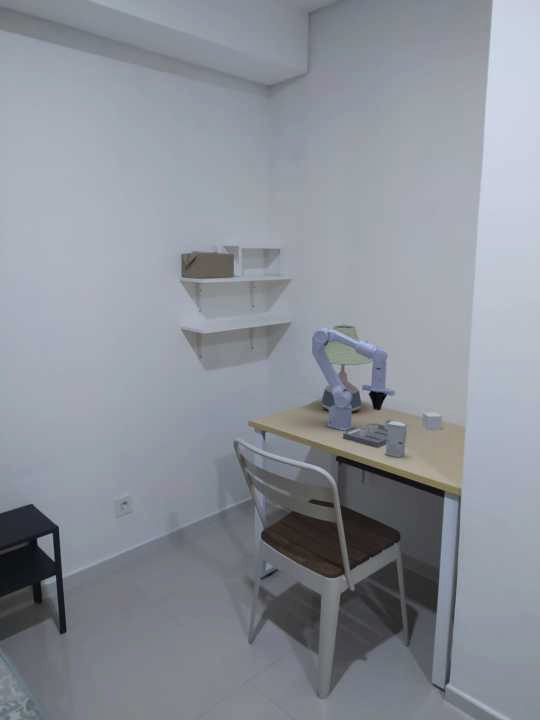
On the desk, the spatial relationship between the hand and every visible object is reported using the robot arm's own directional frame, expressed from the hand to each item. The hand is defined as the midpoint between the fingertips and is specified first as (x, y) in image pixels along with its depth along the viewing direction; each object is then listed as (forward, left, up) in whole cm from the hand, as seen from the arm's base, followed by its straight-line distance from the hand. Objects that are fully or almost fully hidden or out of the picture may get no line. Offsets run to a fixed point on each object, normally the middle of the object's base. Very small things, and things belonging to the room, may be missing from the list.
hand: (377, 409), depth 231 cm
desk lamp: (-31, +18, -10) cm, 37 cm away
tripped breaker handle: (+6, 0, -7) cm, 9 cm away
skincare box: (+21, -20, -10) cm, 31 cm away
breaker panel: (+4, -7, -9) cm, 12 cm away
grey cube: (+14, +22, -10) cm, 28 cm away
